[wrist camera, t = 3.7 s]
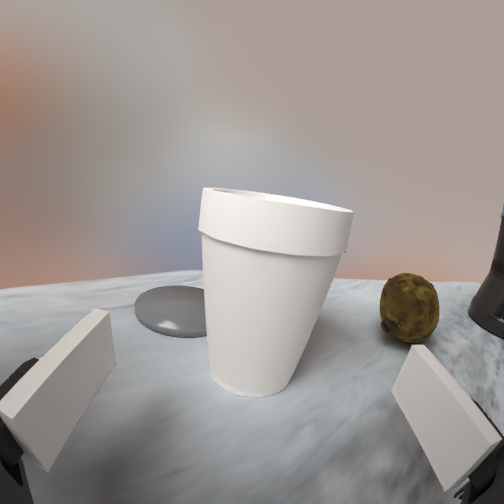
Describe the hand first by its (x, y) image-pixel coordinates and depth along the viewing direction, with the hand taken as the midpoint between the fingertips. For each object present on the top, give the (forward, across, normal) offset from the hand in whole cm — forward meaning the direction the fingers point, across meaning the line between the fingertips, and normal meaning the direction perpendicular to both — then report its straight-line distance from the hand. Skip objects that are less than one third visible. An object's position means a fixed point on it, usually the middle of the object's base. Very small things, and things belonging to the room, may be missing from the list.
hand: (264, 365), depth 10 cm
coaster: (+16, -7, -7) cm, 19 cm away
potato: (+15, +18, -7) cm, 24 cm away
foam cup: (+8, 0, -7) cm, 11 cm away
